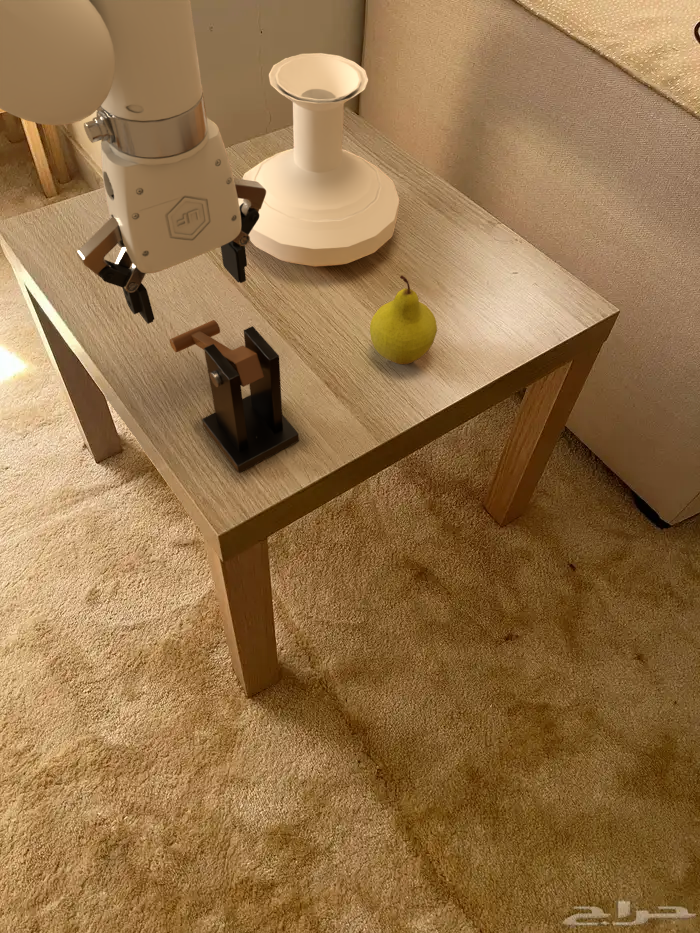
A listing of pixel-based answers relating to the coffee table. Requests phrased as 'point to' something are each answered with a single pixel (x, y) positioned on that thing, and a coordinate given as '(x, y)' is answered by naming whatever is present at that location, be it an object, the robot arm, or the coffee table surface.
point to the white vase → (321, 173)
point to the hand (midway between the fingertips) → (190, 293)
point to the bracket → (247, 407)
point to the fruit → (403, 328)
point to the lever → (222, 351)
